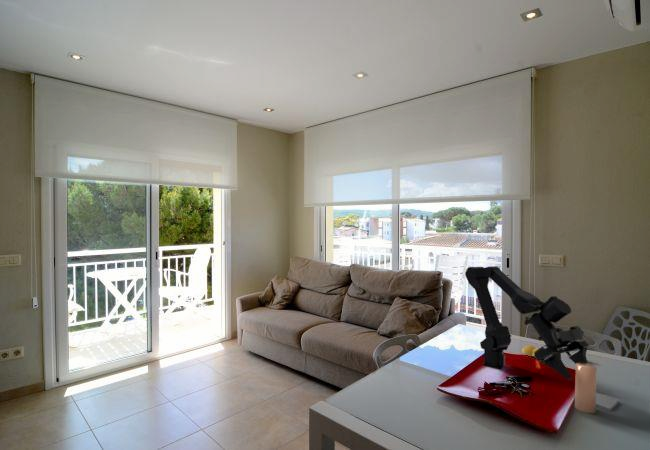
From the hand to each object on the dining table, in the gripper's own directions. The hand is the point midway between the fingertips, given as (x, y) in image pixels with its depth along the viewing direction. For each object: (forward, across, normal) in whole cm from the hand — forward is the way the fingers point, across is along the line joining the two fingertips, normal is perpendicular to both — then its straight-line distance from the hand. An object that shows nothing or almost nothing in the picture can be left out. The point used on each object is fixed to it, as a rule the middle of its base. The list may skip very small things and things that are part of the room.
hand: (580, 376), depth 107 cm
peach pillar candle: (+7, 0, +5) cm, 9 cm away
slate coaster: (+6, +9, +7) cm, 13 cm away
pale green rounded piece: (-13, +37, +25) cm, 46 cm away
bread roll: (-18, +25, +31) cm, 43 cm away
